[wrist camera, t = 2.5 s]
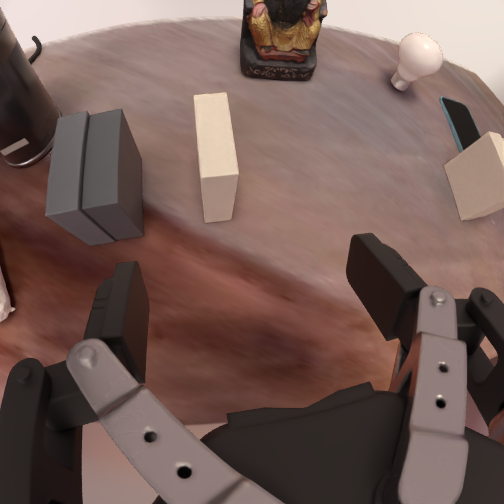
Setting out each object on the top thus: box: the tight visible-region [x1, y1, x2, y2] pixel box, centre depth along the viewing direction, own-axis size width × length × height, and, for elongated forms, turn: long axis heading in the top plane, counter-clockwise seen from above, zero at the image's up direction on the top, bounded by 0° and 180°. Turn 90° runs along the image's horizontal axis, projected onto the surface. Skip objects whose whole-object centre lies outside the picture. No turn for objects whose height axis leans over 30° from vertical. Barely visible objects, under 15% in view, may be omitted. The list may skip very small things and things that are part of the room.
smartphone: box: [440, 97, 481, 153], centre depth 38 cm, size 7×1×15 cm
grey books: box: [45, 109, 144, 246], centre depth 25 cm, size 6×9×10 cm, turn 9°
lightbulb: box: [391, 33, 443, 91], centre depth 32 cm, size 6×6×11 cm
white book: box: [194, 93, 239, 223], centre depth 26 cm, size 3×8×10 cm, turn 9°
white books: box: [444, 132, 504, 221], centre depth 30 cm, size 6×8×10 cm
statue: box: [240, 0, 327, 80], centre depth 26 cm, size 12×8×20 cm, turn 88°
